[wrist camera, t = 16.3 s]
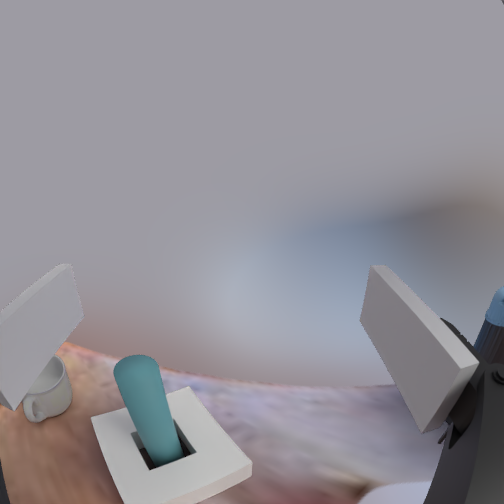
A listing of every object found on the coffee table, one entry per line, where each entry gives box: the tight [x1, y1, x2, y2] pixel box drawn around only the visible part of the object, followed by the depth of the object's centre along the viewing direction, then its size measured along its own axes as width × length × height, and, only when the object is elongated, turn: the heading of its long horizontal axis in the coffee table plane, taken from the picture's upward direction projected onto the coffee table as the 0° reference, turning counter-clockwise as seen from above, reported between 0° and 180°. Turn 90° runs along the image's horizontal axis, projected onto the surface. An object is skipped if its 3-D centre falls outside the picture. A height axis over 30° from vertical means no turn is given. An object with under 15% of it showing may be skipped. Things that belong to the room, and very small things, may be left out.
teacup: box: [22, 354, 72, 423], centre depth 31 cm, size 14×11×8 cm
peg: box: [114, 355, 185, 468], centre depth 26 cm, size 4×4×18 cm
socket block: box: [91, 386, 252, 504], centre depth 29 cm, size 16×16×4 cm
